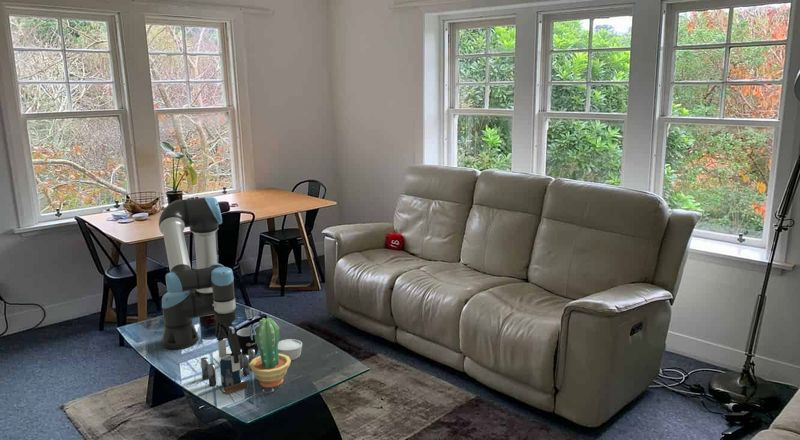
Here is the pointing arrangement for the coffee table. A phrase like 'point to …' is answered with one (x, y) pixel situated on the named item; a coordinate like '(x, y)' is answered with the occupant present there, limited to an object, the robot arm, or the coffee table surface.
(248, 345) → the mug
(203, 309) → the robot arm
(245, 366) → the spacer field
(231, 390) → the walnut stop
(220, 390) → the bay lines
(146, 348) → the coffee table surface
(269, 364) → the potted cactus
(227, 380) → the soda can
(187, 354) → the coffee table surface
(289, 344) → the ramekin
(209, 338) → the coffee table surface
